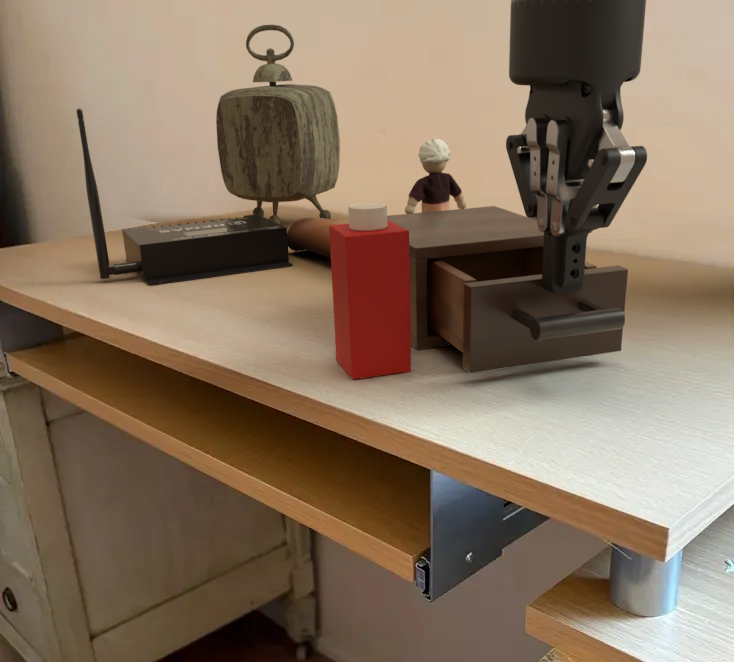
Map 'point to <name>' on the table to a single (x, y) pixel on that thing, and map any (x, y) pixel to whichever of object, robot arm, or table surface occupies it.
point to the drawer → (522, 309)
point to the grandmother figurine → (434, 181)
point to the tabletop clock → (278, 137)
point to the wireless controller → (187, 243)
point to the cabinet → (457, 250)
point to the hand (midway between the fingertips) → (561, 290)
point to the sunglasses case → (311, 235)
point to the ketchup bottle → (371, 292)
